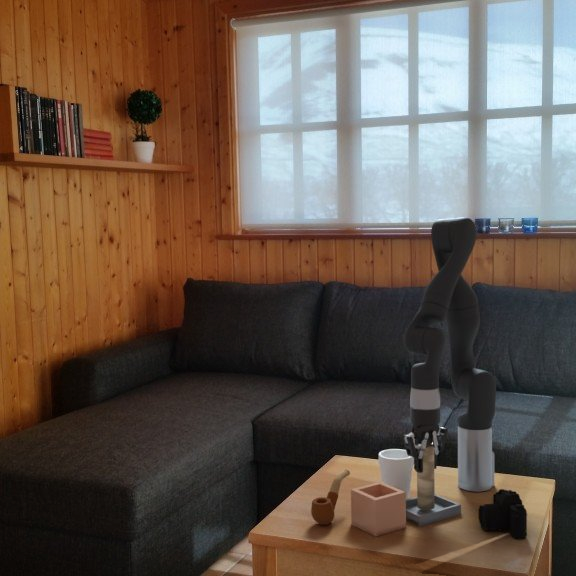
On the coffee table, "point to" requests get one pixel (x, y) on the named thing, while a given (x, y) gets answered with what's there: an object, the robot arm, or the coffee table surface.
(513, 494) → the film camera
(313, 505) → the smoking pipe
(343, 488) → the coffee table surface
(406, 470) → the foam cup
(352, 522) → the deep box
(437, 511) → the tray
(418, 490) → the maple dowel
